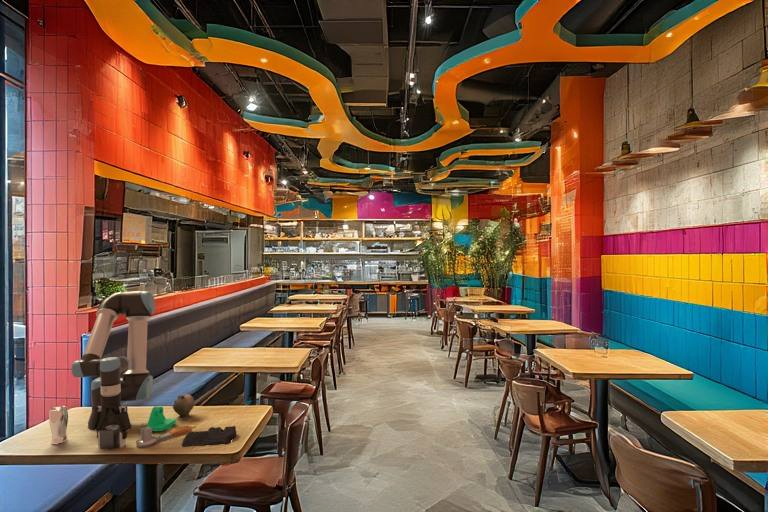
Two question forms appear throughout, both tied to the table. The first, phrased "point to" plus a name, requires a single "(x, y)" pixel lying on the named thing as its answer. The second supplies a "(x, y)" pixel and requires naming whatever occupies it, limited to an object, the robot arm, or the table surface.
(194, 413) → the table surface
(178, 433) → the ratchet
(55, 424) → the beer glass
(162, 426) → the camera mount
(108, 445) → the brushed brown cube
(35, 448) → the table surface
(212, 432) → the dark slate chunk
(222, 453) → the table surface
